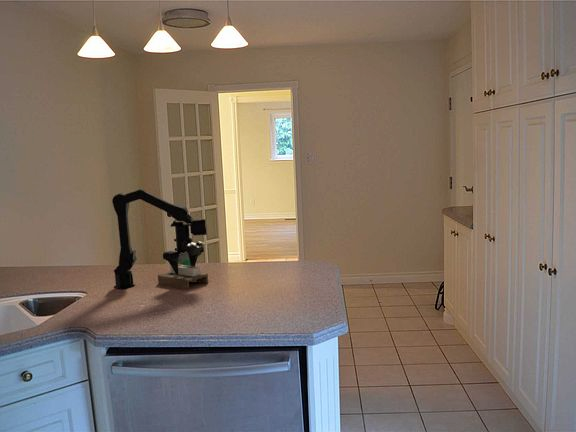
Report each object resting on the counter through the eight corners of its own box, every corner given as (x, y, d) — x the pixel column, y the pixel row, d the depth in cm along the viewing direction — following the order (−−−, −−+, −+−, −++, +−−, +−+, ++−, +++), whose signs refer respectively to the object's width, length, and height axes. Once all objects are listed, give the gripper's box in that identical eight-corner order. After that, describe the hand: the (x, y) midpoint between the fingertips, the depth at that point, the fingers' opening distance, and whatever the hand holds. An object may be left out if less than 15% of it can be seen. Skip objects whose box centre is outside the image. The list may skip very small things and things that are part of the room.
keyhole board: (187, 289, 213) (186, 280, 213) (158, 284, 224) (157, 275, 223) (208, 282, 223) (207, 273, 222) (179, 277, 233) (178, 269, 233)
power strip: (193, 283, 219) (192, 268, 218) (171, 279, 227) (170, 264, 226) (200, 281, 222) (199, 266, 221) (178, 277, 230) (177, 262, 229)
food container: (180, 277, 234) (179, 255, 233) (171, 275, 238) (170, 254, 236) (200, 271, 244) (199, 250, 242) (191, 269, 247) (190, 249, 246)
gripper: (179, 241, 209) (181, 279, 212) (211, 234, 224) (213, 269, 227) (160, 239, 216) (163, 276, 218) (193, 232, 231) (195, 266, 233)
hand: (185, 271), depth 224 cm, fingers open, 9 cm apart
